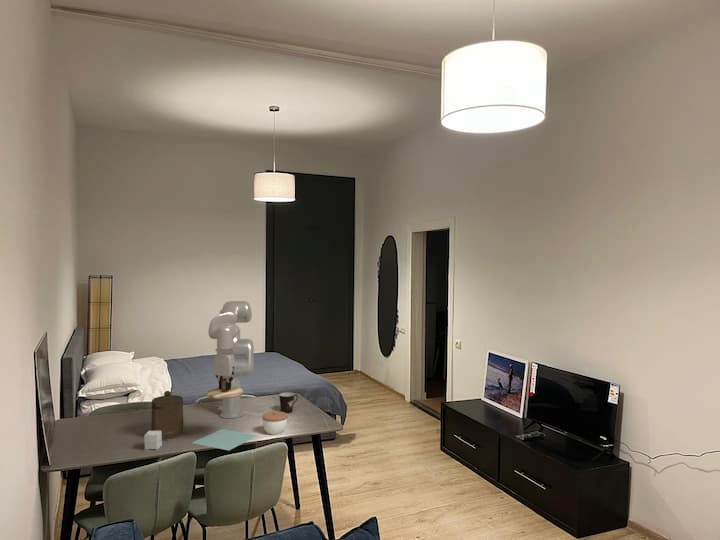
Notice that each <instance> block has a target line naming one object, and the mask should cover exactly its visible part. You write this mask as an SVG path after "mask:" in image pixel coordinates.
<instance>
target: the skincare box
mask: <svg viewBox="0 0 720 540" xmlns="http://www.w3.org/2000/svg"><path fill="white" fill-rule="evenodd" d="M143 437H144V441H143V442H144V450H145V449H156V450H155V451H158V450H159V449H160V448H161V447H162V445H163V440H162V431H152V430H148V431H147V432H146V433H145V434H144V435H143ZM160 446H161V447H160ZM157 449H158V450H157Z"/></svg>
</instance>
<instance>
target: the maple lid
mask: <svg viewBox="0 0 720 540" xmlns="http://www.w3.org/2000/svg"><path fill="white" fill-rule="evenodd" d="M226 382H227V378H223V379H221V390H219V387H215V388H211V389H208V390H207V391H206V396H207V397H208V398H211V399H219V400H220V399H221V400H223V399H227V398H234V397H238V396H240V395H241V396H242V395H243V394H244V390H243V388H238V387H231V390H228V391H226Z"/></svg>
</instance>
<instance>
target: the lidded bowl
mask: <svg viewBox="0 0 720 540" xmlns="http://www.w3.org/2000/svg"><path fill="white" fill-rule="evenodd" d="M261 418H262V425H263V429H264V431H265V432H266V433H267V434H268V435H272V436H275V435H276V436H277V435H281V434H282V433H283V432H285V430H286V428H287V425H288V413H284V412H281V411H277V410H275V411H269V412H265V413H263V414H262V417H261Z"/></svg>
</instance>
